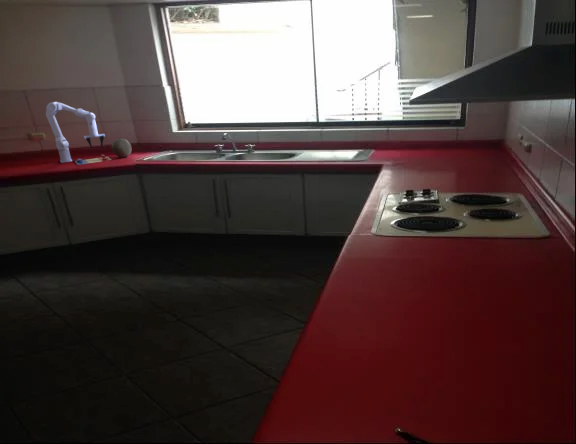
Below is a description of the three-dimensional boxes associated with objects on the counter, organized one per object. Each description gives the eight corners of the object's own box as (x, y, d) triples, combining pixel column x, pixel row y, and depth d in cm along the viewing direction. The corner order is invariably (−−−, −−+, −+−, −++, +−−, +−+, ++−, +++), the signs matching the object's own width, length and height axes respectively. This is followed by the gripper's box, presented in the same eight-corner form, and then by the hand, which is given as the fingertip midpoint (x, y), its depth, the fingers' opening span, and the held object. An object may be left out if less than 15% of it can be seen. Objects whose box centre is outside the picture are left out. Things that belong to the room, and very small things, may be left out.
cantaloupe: (114, 157, 329) (110, 138, 323) (133, 155, 332) (129, 136, 327) (113, 160, 316) (109, 141, 311) (132, 158, 320) (129, 139, 314)
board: (74, 161, 319) (74, 161, 319) (107, 156, 331) (107, 156, 331) (77, 165, 306) (77, 164, 306) (112, 160, 318) (111, 159, 318)
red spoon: (100, 158, 326) (99, 154, 325) (105, 157, 328) (104, 154, 327) (103, 160, 317) (102, 157, 316) (108, 159, 319) (107, 156, 318)
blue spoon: (84, 163, 311) (83, 159, 310) (78, 163, 309) (77, 160, 308) (82, 160, 320) (81, 157, 319) (76, 161, 318) (75, 158, 317)
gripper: (83, 130, 309) (87, 149, 314) (104, 128, 316) (107, 146, 321) (82, 129, 314) (85, 147, 319) (102, 127, 322) (105, 145, 327)
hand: (96, 147), depth 321 cm, fingers open, 7 cm apart
